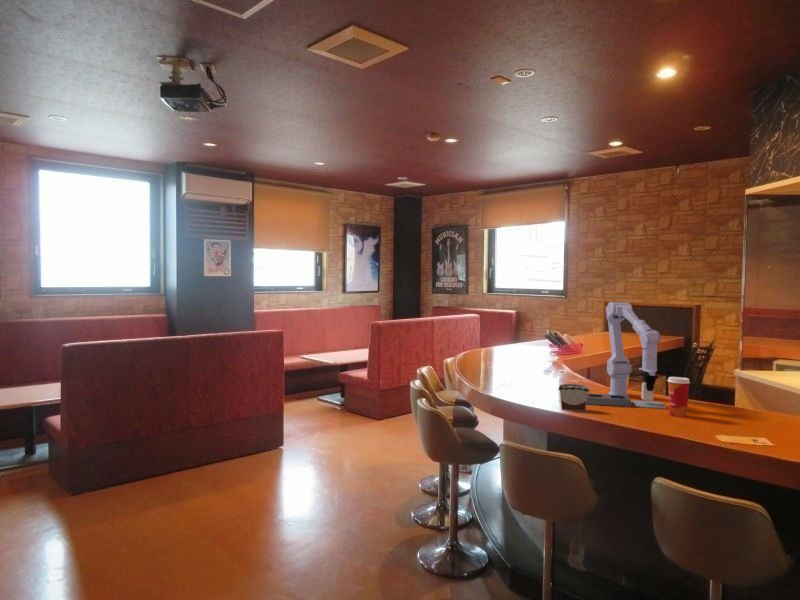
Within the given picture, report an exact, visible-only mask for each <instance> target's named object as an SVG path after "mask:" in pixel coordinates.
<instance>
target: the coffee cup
mask: <svg viewBox="0 0 800 600" xmlns="http://www.w3.org/2000/svg"><path fill="white" fill-rule="evenodd" d="M666 381H667V382H668V383H667V386H668V387H667V389H668V390H667V391H668V409H669V410H668V411H669V416H672V417H675V418H686V417H687V415H688V413H687V412H688V405H689V404H688V403H689V390H690V384H691V381H690V379H689V378H688V377H682V376H669V377H668V379H667V380H666Z"/></svg>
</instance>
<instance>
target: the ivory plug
mask: <svg viewBox="0 0 800 600" xmlns="http://www.w3.org/2000/svg"><path fill="white" fill-rule="evenodd" d="M654 388H655V387H654ZM654 388H653V391H647V387H646V383H644V381H642V383H641V399H642V401H653V402H654V390H655V389H654Z"/></svg>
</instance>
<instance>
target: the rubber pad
mask: <svg viewBox="0 0 800 600" xmlns="http://www.w3.org/2000/svg"><path fill="white" fill-rule="evenodd" d="M631 404H633V405H634V407H635V408H643V409H656V410H657V409H658V410H659V409H660V410H667V409H668V408H667V407H666V406H665V405H664V403H662V402H661V401H654V400H653V401H648V400H634V399H632V400H631Z"/></svg>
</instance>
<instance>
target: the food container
mask: <svg viewBox="0 0 800 600" xmlns="http://www.w3.org/2000/svg"><path fill="white" fill-rule="evenodd" d="M558 391H559V397H560V404H561V411H575V412H577V411H579V412H586V408H587V404H586V402H587V395H588V393H590V388H589V386H587V385H583V384H576V383H566V384H565V383H562V384H560V385H559V386H558Z"/></svg>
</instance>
